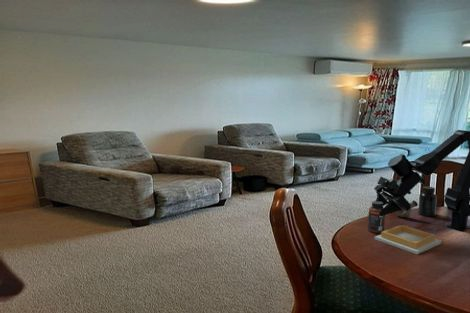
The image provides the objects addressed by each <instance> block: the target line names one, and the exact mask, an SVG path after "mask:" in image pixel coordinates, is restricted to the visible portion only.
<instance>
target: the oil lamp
mask: <svg viewBox="0 0 470 313" xmlns="http://www.w3.org/2000/svg"><path fill="white" fill-rule="evenodd" d="M409 203H410V204H411V209H410V210H409V211H408V212H407V211H405V210H403V208H401V209H402V211H397V212H394V213H395V215H396V216H398V217H400V218H410V217H411V211H412V209H413V208H418V207H419V203H418V202H417V201H416V200H412V201H411V202H409Z"/></svg>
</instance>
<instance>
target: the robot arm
mask: <svg viewBox="0 0 470 313" xmlns="http://www.w3.org/2000/svg"><path fill="white" fill-rule="evenodd" d="M465 142H467V145H468V152H467V155H466V158H465V161H464V163H463V165H462V168H461V170H460V173H459V176H458V178H457V180H456V183H455V185H453V187H447V189H446V191H445V195H444V196H443V198H444V199H443V200H444V203H445V205H446V208H447V210H448V211H451V216H450V223H448V224H447V225H446V227H448V228H449V229H450V228H451V229H454V230H458V231H463V232H465V231H467V230H469V229H470V226H469V225H468V222H469V217H470V131H469V130H463V129H457V130H456V131H454V132H453V134H451V135H450V136H449V137H448V138H447V139H445V140H444V141H443V142H442V143H441V144H439V145H438V146H436V148H434V149H433V150H432V151H430V152H429V153H425V154H423V155H420V156H419V157H418V158H415V159H414V160H412V161H411V160H409V159H408V158H407V157H406V155H405V154H403V153H400V154H399V155H396V156H394V157H392V158H391V159H390V160H389V161H388V162H387V166H388V167H389V168H390V169H391V170H392V172H394V174H396V176H397V177H400V178H399V179H398V180H397V179H394V178H390V179H388V178H385V177H383V176H380V177H379V180H378V181H377V182H376V183H377V185H376V186H375V187H373V188H374V189H373V190H374V191H375V192H376V199H375V201H380V202H383V208H384V209H383V210H382V211H381V212H380V213H379V215H380V216H384V215H385V216H388V215H389V214H392V213H393V214H394V213H395V212H397V211H402V209H401V208H403V210H405V211H407V212H408V211H409V210H410V209H411V204H410V203H411V202H409V201H408V199H407V198H406V196H407V195H412V191H411V190H413V189H414V187H416V186H418V184H422V185H423V186H425V185H426V177H425V176H431V175H433V174H434V173H435V171H437V169H438V168H439V167H440V164H441V162H442V161H443V160H444V159H445V158H447V157H448V156H449V155H450V154H452V153H453V152H454V151H455V150H457V149H458V148H459V147H461V145H463V144H465ZM421 174H422V175H425V176H421ZM411 210H412V209H411Z"/></svg>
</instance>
